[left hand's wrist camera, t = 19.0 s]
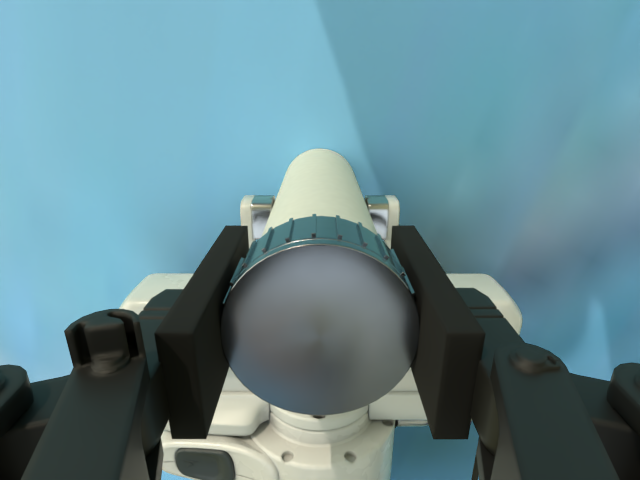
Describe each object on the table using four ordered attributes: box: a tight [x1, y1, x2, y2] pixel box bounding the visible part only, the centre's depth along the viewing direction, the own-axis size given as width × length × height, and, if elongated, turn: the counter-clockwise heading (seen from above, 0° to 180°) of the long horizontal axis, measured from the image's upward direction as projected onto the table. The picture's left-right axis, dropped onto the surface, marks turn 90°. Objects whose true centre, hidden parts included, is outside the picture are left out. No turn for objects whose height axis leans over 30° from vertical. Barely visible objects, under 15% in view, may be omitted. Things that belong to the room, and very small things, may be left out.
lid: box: [220, 214, 420, 416], centre depth 11 cm, size 5×5×2 cm
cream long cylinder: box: [262, 149, 377, 236], centre depth 18 cm, size 4×4×16 cm
